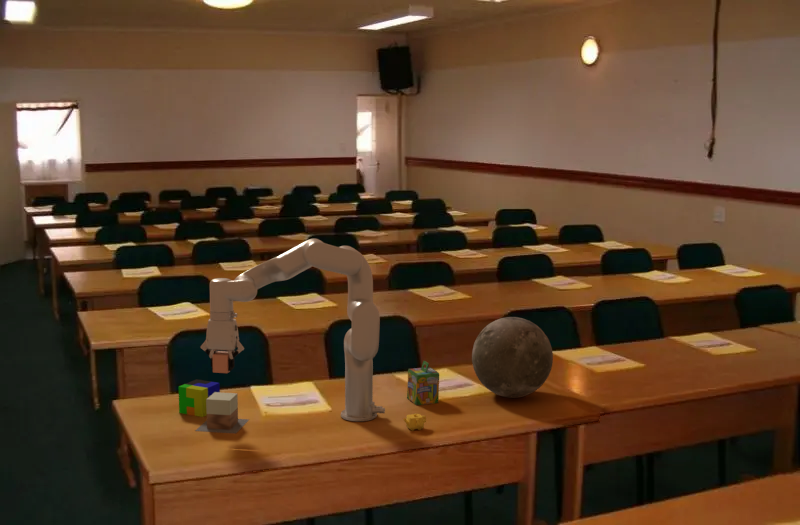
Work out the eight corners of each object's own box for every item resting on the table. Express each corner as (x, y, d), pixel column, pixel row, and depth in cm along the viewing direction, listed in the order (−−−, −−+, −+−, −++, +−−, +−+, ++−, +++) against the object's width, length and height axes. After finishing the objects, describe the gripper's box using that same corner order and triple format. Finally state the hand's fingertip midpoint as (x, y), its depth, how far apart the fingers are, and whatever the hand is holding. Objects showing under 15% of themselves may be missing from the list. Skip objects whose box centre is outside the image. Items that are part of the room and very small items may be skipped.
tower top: (237, 407, 299) (237, 393, 298) (229, 415, 291) (229, 400, 290) (215, 406, 300) (214, 392, 299) (206, 413, 292) (206, 399, 291)
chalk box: (406, 398, 328) (407, 360, 326) (429, 396, 331) (429, 357, 329) (416, 406, 320) (416, 366, 317) (439, 403, 323) (440, 364, 321)
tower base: (238, 421, 299) (237, 407, 299) (230, 429, 292) (229, 415, 291) (215, 420, 301) (215, 406, 300) (207, 428, 293) (206, 413, 292)
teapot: (406, 433, 291) (406, 418, 290) (400, 427, 296) (401, 413, 296) (429, 431, 293) (429, 416, 293) (423, 425, 299) (423, 410, 298)
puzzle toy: (220, 410, 313) (219, 382, 312) (202, 418, 304) (201, 390, 303) (197, 406, 317) (196, 379, 316) (179, 414, 308) (178, 386, 307)
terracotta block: (232, 369, 296) (232, 351, 295) (227, 373, 291) (227, 355, 290) (218, 368, 296) (217, 351, 295) (212, 372, 292) (212, 354, 291)
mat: (249, 420, 302) (249, 419, 302) (236, 434, 288) (235, 433, 288) (210, 418, 304) (210, 417, 304) (195, 432, 290) (195, 430, 290)
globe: (568, 399, 329) (571, 320, 324) (507, 413, 312) (509, 330, 307) (514, 380, 353) (516, 306, 349) (455, 392, 337) (456, 315, 332)
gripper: (250, 314, 293) (250, 367, 296) (201, 312, 296) (202, 365, 298) (243, 319, 286) (243, 373, 289) (192, 317, 288) (193, 371, 291)
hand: (222, 368), depth 293 cm, fingers closed on terracotta block, 5 cm apart
